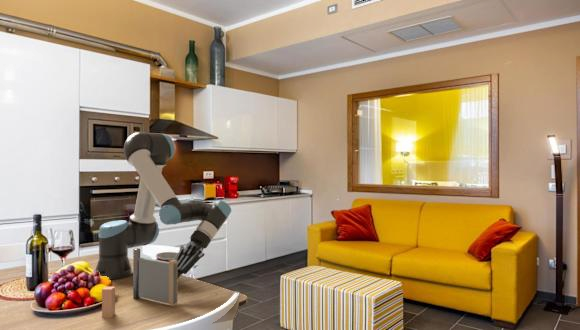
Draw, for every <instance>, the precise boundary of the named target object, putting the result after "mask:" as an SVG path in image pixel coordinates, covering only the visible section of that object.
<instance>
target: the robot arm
mask: <svg viewBox="0 0 580 330" xmlns="http://www.w3.org/2000/svg"><path fill="white" fill-rule="evenodd" d="M175 149H176V148H175V142H174V141H173V139H172V137H171V136H169V135H168V134H165V133H160V132H159V133H157V132H143V131H138V132H133V133H132V134H130V135H129V136H128V137H127V138H126V140H125V142H124V145H123V154H124V157H125V159H126V161H127V163H128V164H129V165H130V166H131V167H134V169H135V170H136V172H137V174H138V175H139V177H140V180H139V185H138V188H137V189H138V191H137V196H136V202H135V207H134V212H133V213H132V214H131V215H130V216H129V220H128V221H127V220H125V219H124V220H123V219H122V220H121V219H119V220H112V221H107V222H105V223H103V224H101V225H100V226H99V229H98V260H97V263H96V266H95V268H94V269H95V270H94V272H95V271H97V270H98V271H99V272H100V275H101V276H107V277H109V278H111V279H110V280H117V279H122V278H126V277H129V276H131V275H132V274H133V268H132V267H133V266H132V263H130V259H129V254H128V251H129V249H134V248H137V247H145V246H148V245H151V244H153V243H154V242H156V241H157V238H158V237H159V233H160V227H159V223H158V222H157V221H156V220H157V219H156V217H155V216H154V213H155V207H156V204H157V205H158V206H159V208H160V209H159V213H158V216H159V220H160V222H161V223H162V224H164V225H165V226H166V225H168V226H169V225H177V224H182V223H190V222H196V221H200V223H199V224H198V225H197V227H196V229H195V230H194V231H193V233H192V234H191V235H190V240H189V242H188V243H187V244H186V245H185V246H183V245H181V246H180V247H179V250H178V252H177V253H178V254H177V256H176V258H175V260H177V280H178V279H179V277H180V276H181V275H182V276H183V274H184V275H186V274H188V272H189V271H190V270H191V269H192V268H193V267H194V266H195V265H196V264H197V263H198V262H199V260H200V259H202V258H203V257H204V256H205V253H204V252H203V251H204V249H207V247H208V246H209V244H210V243H212V240H213V239H214V238H215V236H216V235H217V233H218V232H219V230H220V229H221V227H222V226H223V225H224V223H225V222H226V221H227V219H228V218H229V216H230V214H231V212H232V208H231V206H230V205H229V204H228V203H227V202H225V201H224V200H221V199H220V200H216V202H214V203H213V204H210V203H207V202H203V201H200V200H196V199H191V200H189V201H187V202H183V203H181V201H180V200H179V198H178V197H177V195H176V194H175V192H174V190H173V189H172V188H171V186H170V184H169V183H168V181H167V180H166V179H165V177H164V176H163V174H162V172H163V168H164V167H165V166H167V163H168V160H171V159H172V158H173V157H174V155H175V152H176V151H175Z"/></svg>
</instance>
